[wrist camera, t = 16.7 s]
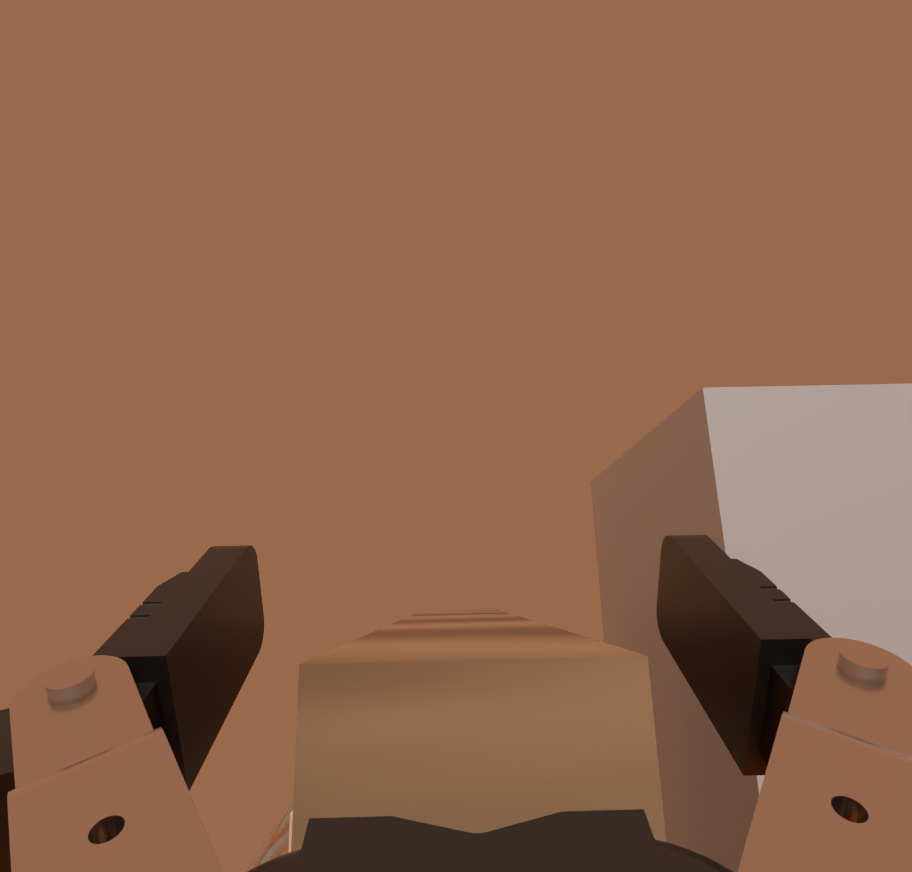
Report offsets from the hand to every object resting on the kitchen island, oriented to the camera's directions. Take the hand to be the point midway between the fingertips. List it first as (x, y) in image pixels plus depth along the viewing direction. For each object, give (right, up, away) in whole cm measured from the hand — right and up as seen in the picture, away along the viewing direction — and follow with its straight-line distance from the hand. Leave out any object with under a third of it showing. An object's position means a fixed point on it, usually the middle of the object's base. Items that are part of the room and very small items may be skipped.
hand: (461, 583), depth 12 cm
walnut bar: (0, -7, +6) cm, 9 cm away
